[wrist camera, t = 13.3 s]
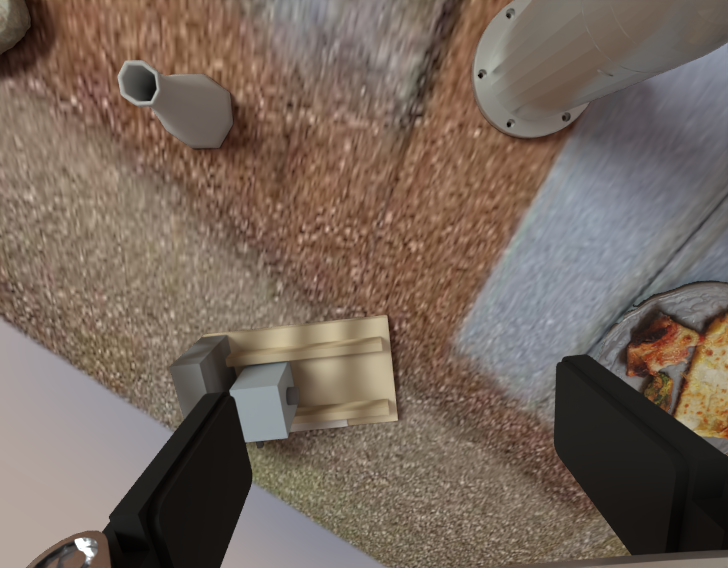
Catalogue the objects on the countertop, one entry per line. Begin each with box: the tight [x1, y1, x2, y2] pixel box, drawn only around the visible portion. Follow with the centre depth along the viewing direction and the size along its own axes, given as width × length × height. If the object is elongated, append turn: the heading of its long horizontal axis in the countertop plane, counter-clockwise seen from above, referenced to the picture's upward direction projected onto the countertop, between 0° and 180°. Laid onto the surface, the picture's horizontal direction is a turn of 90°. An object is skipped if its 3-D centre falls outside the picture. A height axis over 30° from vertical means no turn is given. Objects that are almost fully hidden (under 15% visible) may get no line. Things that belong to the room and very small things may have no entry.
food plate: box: [597, 280, 728, 454], centre depth 42 cm, size 25×23×4 cm
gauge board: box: [169, 315, 398, 444], centre depth 40 cm, size 22×14×8 cm, turn 96°
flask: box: [118, 60, 233, 148], centre depth 31 cm, size 7×7×10 cm
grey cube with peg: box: [229, 361, 300, 448], centre depth 40 cm, size 6×10×6 cm, turn 6°
